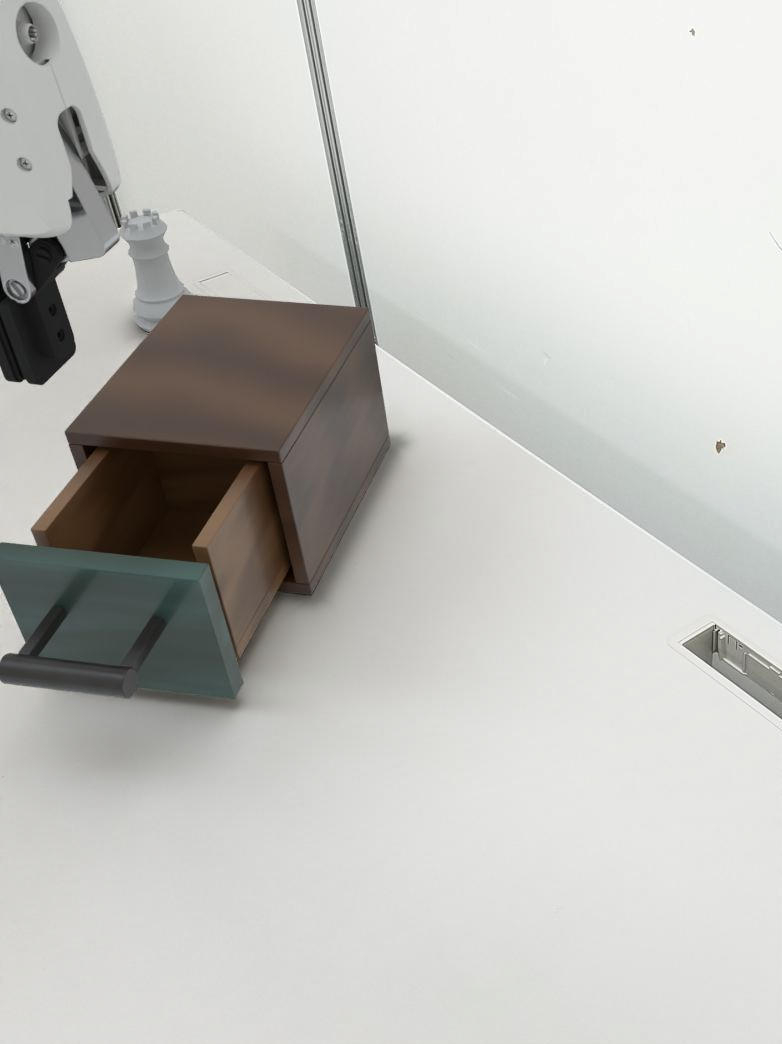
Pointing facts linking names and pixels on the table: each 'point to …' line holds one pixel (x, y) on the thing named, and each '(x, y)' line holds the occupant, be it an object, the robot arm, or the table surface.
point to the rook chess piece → (151, 267)
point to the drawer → (145, 576)
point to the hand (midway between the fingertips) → (42, 366)
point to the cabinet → (257, 408)
